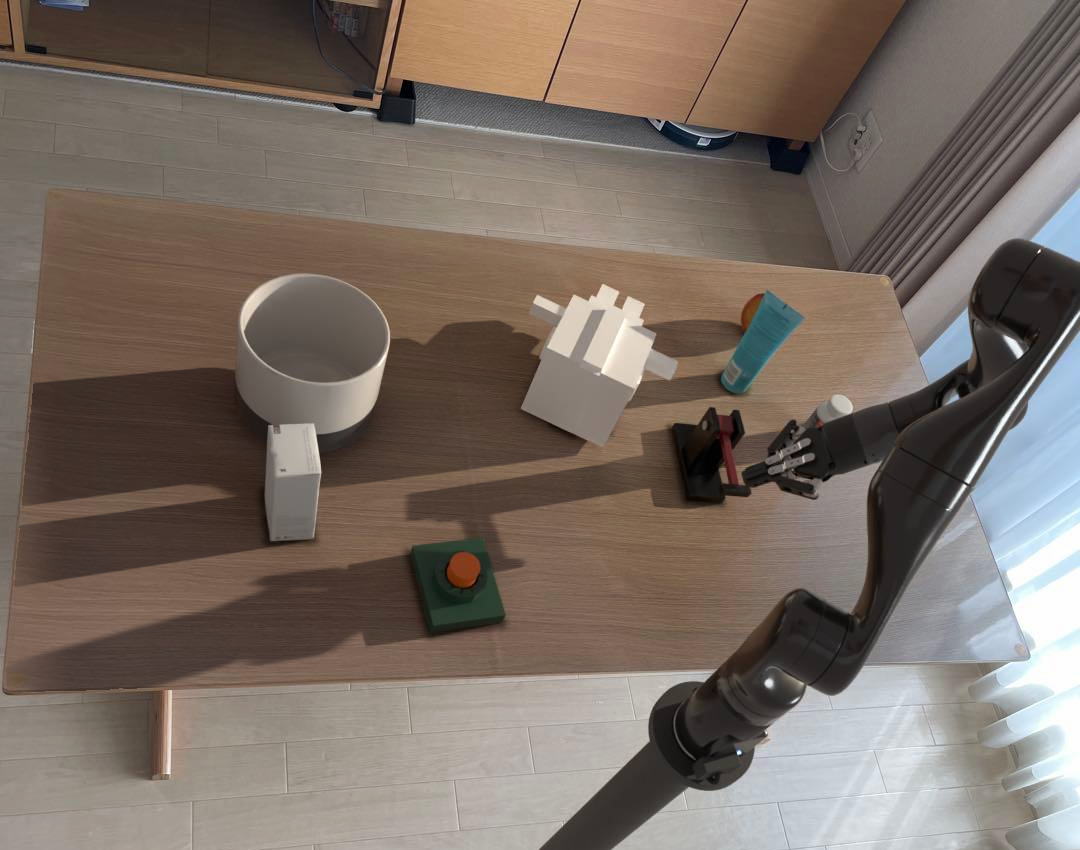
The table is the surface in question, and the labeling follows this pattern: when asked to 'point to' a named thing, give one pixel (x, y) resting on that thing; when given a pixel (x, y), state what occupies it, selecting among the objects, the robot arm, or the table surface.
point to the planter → (310, 358)
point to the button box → (452, 603)
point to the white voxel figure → (592, 363)
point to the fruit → (750, 310)
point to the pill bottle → (829, 411)
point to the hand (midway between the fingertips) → (744, 479)
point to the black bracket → (703, 455)
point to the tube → (760, 342)
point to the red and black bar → (730, 461)
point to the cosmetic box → (292, 481)
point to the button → (463, 570)
